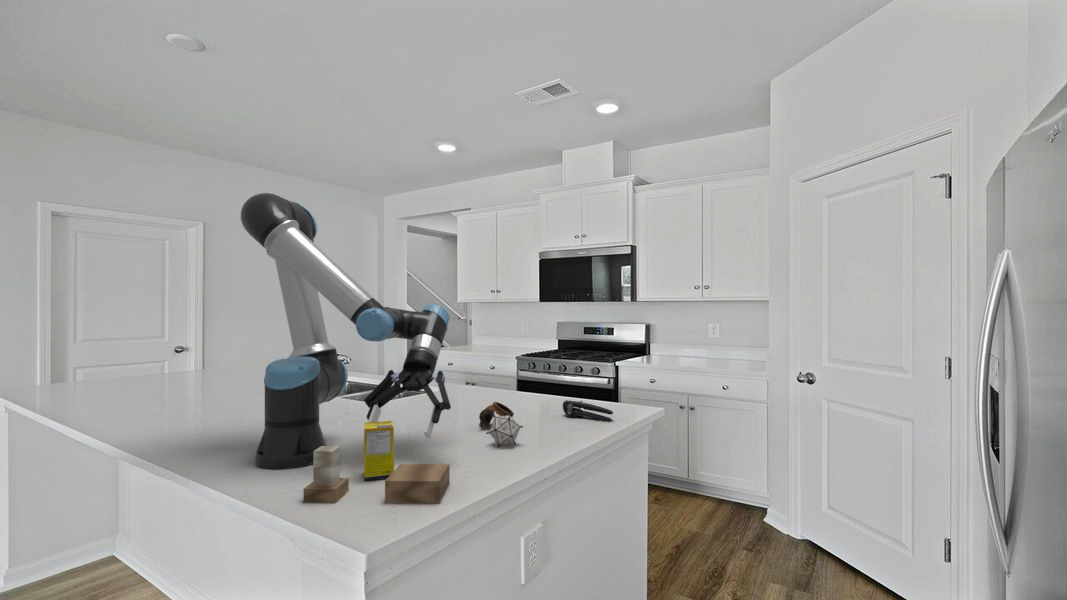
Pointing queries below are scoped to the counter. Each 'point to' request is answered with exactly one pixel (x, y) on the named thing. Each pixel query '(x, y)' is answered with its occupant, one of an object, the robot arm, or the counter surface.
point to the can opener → (575, 412)
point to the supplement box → (378, 450)
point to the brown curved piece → (490, 411)
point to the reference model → (326, 477)
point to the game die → (504, 430)
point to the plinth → (417, 483)
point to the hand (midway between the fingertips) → (397, 434)
